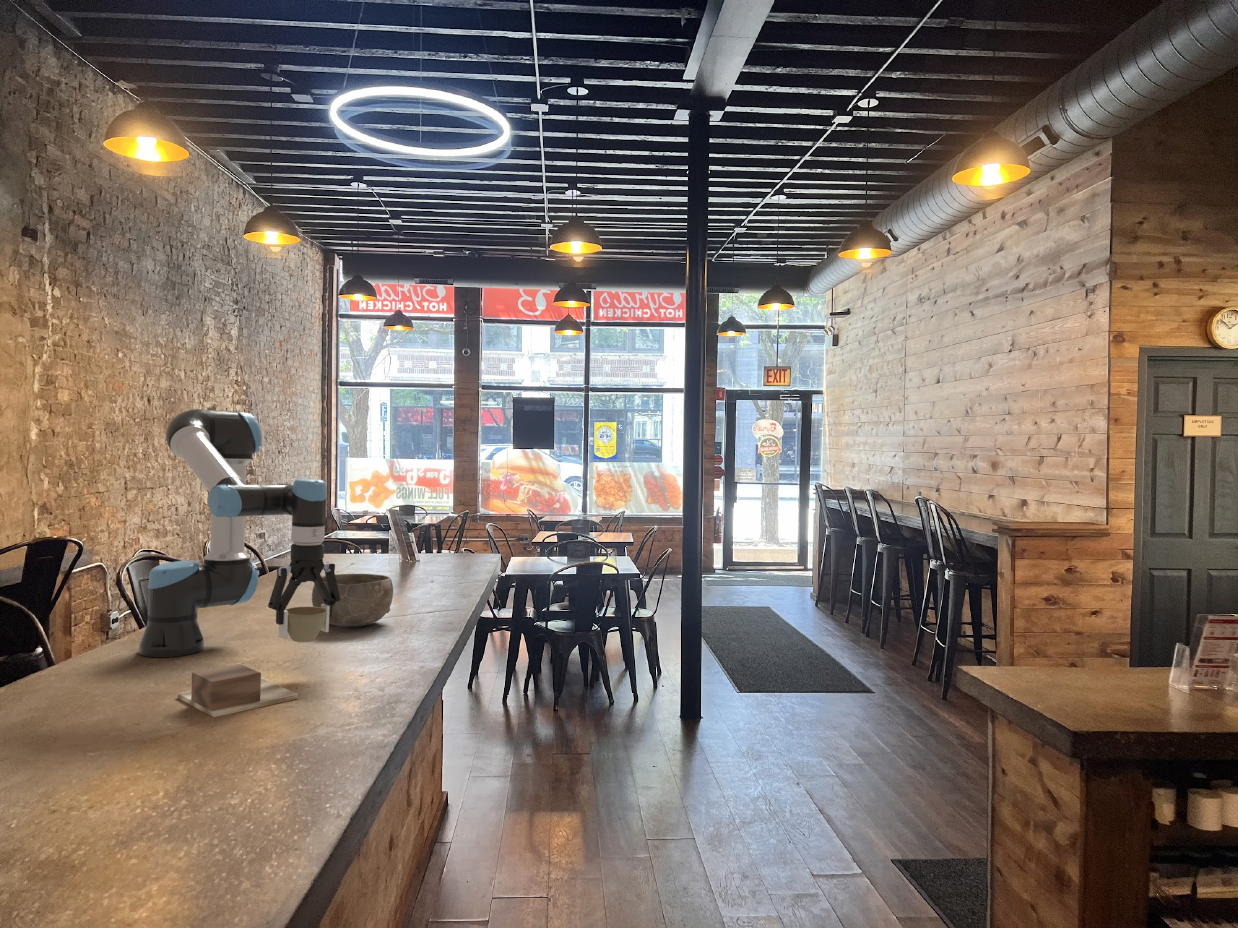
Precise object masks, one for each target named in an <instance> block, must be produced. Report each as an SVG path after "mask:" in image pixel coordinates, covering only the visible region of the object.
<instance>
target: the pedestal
mask: <svg viewBox="0 0 1238 928" xmlns="http://www.w3.org/2000/svg"><path fill="white" fill-rule="evenodd" d="M261 678H262V672H259V671H258V670H255V669H252V668H250V667H248V666H247V665H246V666H245V665H243V664H241V663H237V664H231V665H225V666H220V667H214V668H208V669H203V670H197V671H193V672H191V691H192V692H191V701H193V702H195V703H197V704H199V705H201V706H203V707H205V708H206V709H208V710H210V711H216V710H220V709H225V708H230V707H234V706H239V705H244V704H248V703H253V702H257V701H260V690H261Z"/></svg>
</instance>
